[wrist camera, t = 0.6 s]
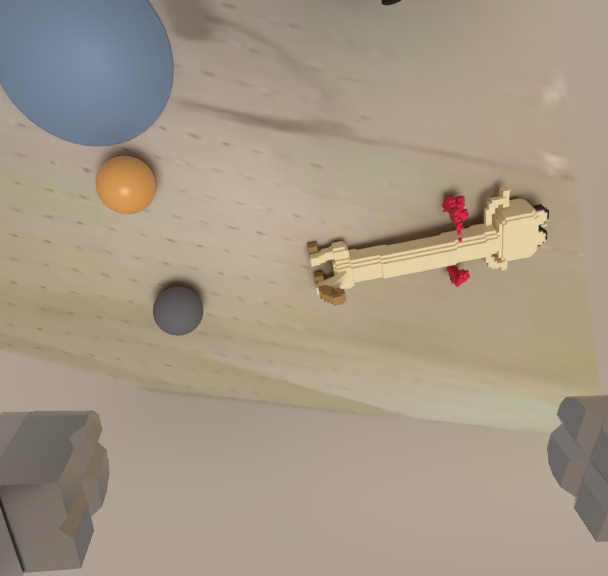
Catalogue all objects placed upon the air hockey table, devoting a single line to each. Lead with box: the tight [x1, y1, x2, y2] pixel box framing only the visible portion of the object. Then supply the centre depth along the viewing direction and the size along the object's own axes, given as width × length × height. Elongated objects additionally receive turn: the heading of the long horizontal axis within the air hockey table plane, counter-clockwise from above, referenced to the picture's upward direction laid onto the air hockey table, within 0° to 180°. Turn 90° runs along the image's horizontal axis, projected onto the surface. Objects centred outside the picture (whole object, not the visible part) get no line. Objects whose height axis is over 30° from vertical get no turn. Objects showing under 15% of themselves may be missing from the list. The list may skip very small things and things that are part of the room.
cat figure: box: [308, 187, 549, 306], centre depth 52 cm, size 10×9×25 cm
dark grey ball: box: [153, 287, 203, 335], centre depth 53 cm, size 5×5×5 cm
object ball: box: [96, 156, 156, 214], centre depth 45 cm, size 5×5×5 cm
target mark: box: [0, 0, 173, 146], centre depth 42 cm, size 14×14×1 cm
